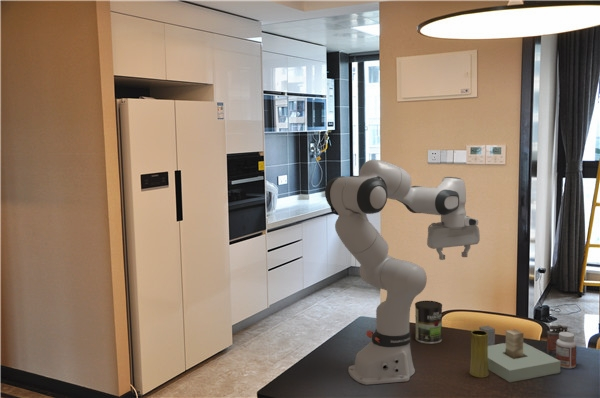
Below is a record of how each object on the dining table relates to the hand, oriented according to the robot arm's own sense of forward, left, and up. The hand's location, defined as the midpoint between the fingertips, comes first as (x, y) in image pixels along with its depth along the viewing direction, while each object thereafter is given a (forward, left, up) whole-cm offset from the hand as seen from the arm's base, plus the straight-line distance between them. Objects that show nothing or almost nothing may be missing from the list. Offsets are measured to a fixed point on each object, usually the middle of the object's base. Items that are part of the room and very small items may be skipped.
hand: (453, 258), depth 207 cm
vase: (-5, -23, -34) cm, 42 cm away
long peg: (+10, -22, -34) cm, 42 cm away
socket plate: (+10, -22, -34) cm, 42 cm away
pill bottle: (+26, -28, -34) cm, 51 cm away
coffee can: (-4, +11, -34) cm, 36 cm away
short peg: (+14, -1, -34) cm, 37 cm away
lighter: (+32, -18, -34) cm, 50 cm away
